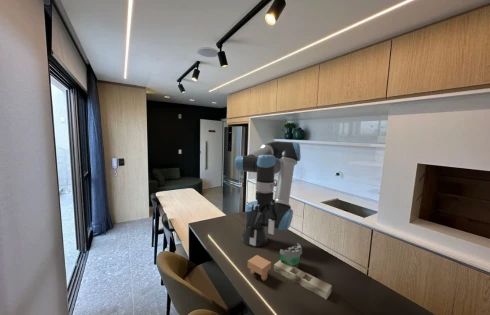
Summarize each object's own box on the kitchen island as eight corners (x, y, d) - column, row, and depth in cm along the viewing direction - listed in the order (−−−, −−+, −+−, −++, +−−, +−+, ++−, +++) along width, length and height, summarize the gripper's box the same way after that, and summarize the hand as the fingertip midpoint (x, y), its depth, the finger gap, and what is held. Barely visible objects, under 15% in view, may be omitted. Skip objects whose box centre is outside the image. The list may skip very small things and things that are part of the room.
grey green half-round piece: (288, 277, 89) (289, 255, 88) (278, 269, 94) (279, 249, 94) (306, 268, 96) (307, 248, 95) (296, 261, 101) (298, 242, 100)
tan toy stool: (247, 274, 89) (247, 260, 89) (256, 268, 94) (256, 254, 93) (261, 283, 84) (262, 268, 83) (270, 276, 89) (271, 262, 88)
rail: (273, 270, 93) (274, 264, 92) (279, 265, 96) (279, 259, 96) (326, 299, 77) (327, 292, 76) (331, 292, 80) (331, 285, 80)
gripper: (253, 198, 74) (251, 253, 76) (286, 188, 93) (284, 232, 95) (238, 194, 79) (236, 246, 80) (273, 185, 98) (270, 227, 99)
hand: (262, 238), depth 88 cm, fingers open, 13 cm apart
